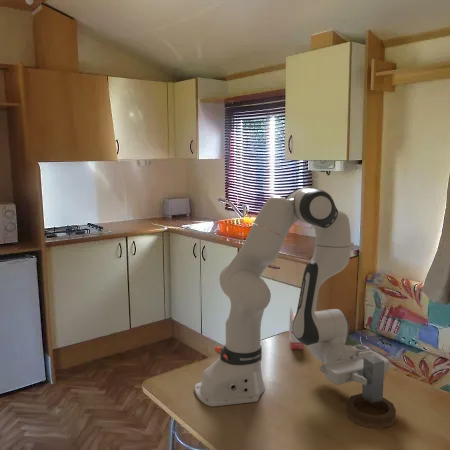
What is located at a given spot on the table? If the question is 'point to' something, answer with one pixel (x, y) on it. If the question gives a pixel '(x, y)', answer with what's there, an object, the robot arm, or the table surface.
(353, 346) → the robot arm
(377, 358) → the metal peg
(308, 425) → the table surface
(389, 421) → the walnut ring
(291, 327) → the ink cartridge box
